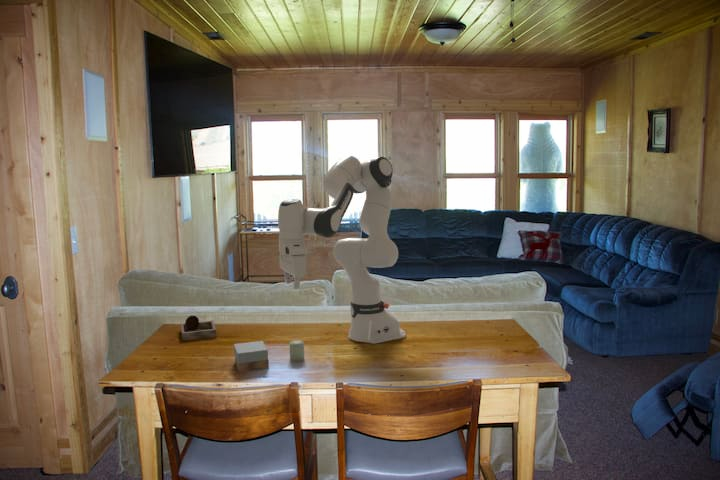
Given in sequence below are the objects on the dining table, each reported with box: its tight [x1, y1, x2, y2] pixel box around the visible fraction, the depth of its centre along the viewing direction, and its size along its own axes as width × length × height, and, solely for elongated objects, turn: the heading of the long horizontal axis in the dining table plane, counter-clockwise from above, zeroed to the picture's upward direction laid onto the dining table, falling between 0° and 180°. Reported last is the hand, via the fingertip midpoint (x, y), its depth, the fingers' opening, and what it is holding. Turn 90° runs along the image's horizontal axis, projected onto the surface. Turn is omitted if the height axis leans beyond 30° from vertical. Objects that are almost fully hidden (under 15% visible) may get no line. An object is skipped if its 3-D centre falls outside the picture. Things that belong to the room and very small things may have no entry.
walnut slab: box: [234, 356, 270, 373], centre depth 198 cm, size 10×10×4 cm
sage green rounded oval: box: [289, 339, 305, 363], centre depth 203 cm, size 5×5×6 cm
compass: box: [184, 314, 210, 332], centre depth 233 cm, size 8×8×7 cm
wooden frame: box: [180, 320, 217, 341], centre depth 232 cm, size 13×13×3 cm
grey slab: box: [233, 340, 269, 364], centre depth 197 cm, size 10×10×4 cm
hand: (292, 285), depth 201 cm, fingers open, 8 cm apart
